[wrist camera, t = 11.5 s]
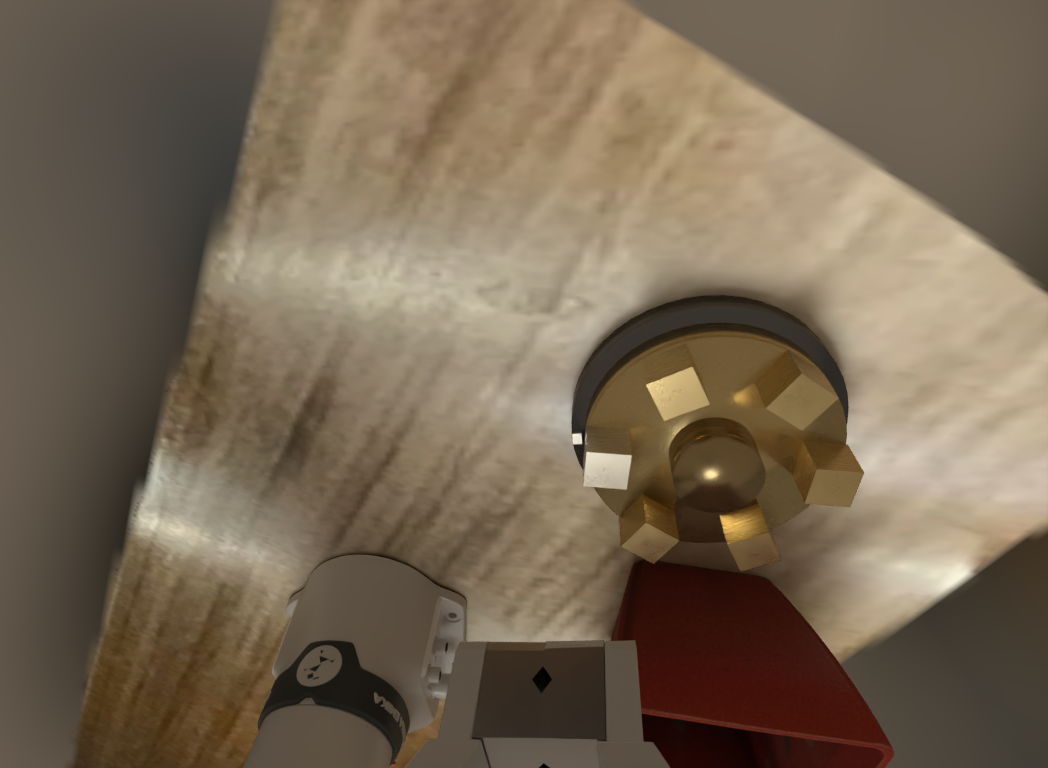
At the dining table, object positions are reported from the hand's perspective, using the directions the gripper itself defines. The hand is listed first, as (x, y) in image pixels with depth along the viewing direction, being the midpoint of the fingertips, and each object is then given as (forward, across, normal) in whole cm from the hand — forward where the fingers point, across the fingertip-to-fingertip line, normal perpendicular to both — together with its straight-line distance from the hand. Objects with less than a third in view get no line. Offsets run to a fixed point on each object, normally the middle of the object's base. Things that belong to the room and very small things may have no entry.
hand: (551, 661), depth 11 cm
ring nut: (+32, +8, -19) cm, 38 cm away
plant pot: (+34, +7, -42) cm, 55 cm away
